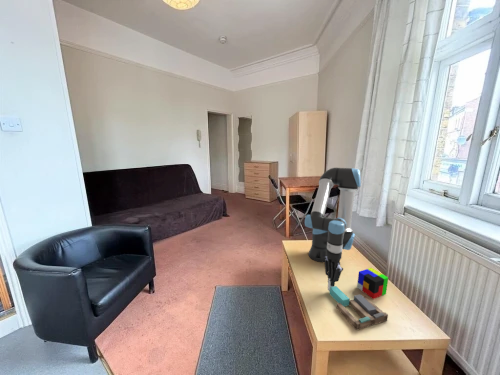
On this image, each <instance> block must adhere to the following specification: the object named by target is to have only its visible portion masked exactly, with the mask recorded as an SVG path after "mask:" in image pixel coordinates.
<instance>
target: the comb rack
mask: <svg viewBox="0 0 500 375" xmlns="http://www.w3.org/2000/svg"><path fill="white" fill-rule="evenodd" d="M363 297H364V298H365V299H366V300H367V301H368V302H369V303H370V304H371V305H373V306H374V307H375V308H376V314H374V315H373V316H371V315H369V314H368V313H367V312H366V311H365V310H364V309H363V308H362V307H361V306H360V305H359V304H358V303H357V302H355V301H354V299H350V301H349V307H350V308H351V309H352V310H353V311H354V312H355V313H356V314H357V315H358V316H360V317H361V318H358V320H357V318H355V316H354V315H352V314H351V313H350V311H348V309H347V308H346V306H345V307H344V306H343V305H342V304H341V303H338V302H336V307H335V308H336V310H337V311H339V313H340V314H341V315H342V317H344V318H345V319H346V320H347V322H348V323H350V324H351V326H352V327H353V328H354V329H355V331H358V330H361V329H364V328H367V327H371V326H373V325H377V324H380V323H383V322H386V321H388V318H389V315H388V313H387V312H384V311H383V310H382V309H381V308H380V307H378V306H377V305H376V304H375V303H373V302H372V301H371V299H369V298H367V296H363Z"/></svg>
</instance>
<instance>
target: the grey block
mask: <svg viewBox="0 0 500 375" xmlns="http://www.w3.org/2000/svg"><path fill="white" fill-rule="evenodd" d="M353 300H354V301H355V302H357V303H358V304H359V305H360V306H361V307H362V308H363V309H364V310H365V311H366V312H367V313H368V314H369V315H371V316H373V315H374V314H376V308H375V307H374V306H373V305H371V304H370V303H369V302H368V301H367V300H366V299H365V298H364V296H363V295H362V294H356V295H353Z"/></svg>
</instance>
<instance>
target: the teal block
mask: <svg viewBox="0 0 500 375" xmlns="http://www.w3.org/2000/svg"><path fill="white" fill-rule="evenodd" d="M329 296H331V298H333V300H334V301H336V303H341V304H342V305H343V306H344V307H345V308H346V307H348V306H349V301H350V300H351V299H350V297H348V296H347V295H346V294H345V292H343V291H342V290H341V289H340V288H339V287H338V286H337V285H335V286H334V287H330V291H329ZM349 307H350V306H349Z"/></svg>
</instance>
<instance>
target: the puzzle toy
mask: <svg viewBox="0 0 500 375" xmlns="http://www.w3.org/2000/svg"><path fill="white" fill-rule="evenodd" d="M388 284H389V277H388V276H386V275H385V274H383V273H382V272H379V271H378V270H376V269H375V268H372V267H369V268H366V269H362V270H360V271H358V276H357V282H356V285H357V286H356V288H357V289H359V290H360V291H361V292H362V293H364V294H366V295H367V296H368V297H370V298H371V299H372V300H375V299H377V298H379V297H381V296H384V295H386V294H387V291H388V289H387V288H388Z"/></svg>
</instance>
